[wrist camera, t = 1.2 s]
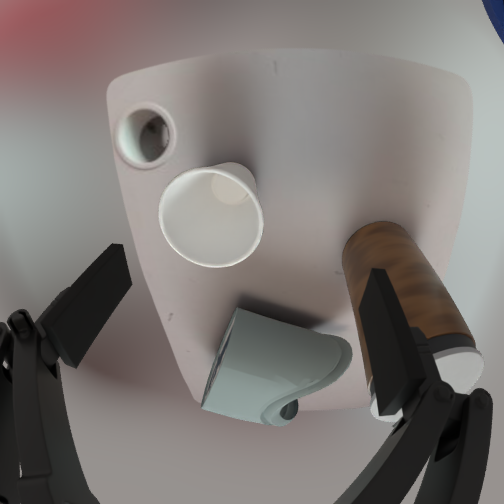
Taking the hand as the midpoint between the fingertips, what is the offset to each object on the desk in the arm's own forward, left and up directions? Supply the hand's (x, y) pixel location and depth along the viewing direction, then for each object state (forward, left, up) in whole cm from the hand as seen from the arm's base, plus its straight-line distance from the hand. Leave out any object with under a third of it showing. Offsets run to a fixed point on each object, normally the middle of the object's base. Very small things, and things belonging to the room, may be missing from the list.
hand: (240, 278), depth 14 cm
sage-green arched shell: (+25, +19, -22) cm, 38 cm away
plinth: (0, +19, -22) cm, 29 cm away
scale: (0, +19, -2) cm, 19 cm away
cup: (+4, -3, -22) cm, 22 cm away
